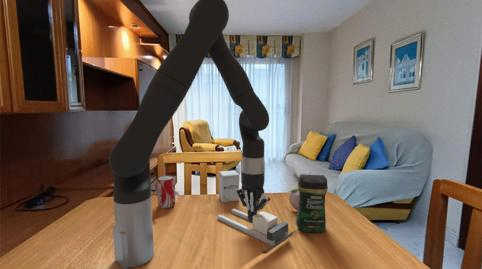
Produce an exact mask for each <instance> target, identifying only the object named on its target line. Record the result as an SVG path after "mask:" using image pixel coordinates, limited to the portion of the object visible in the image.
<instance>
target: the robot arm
mask: <svg viewBox="0 0 482 269" xmlns="http://www.w3.org/2000/svg"><path fill="white" fill-rule="evenodd" d="M229 15H230V14H229V8H228V5H227V3H226V1H225V0H197V1H196V2H195V4H193V6H192V7H191V10H190V11H189V14H188V21H189V22H188V25H187V27H186V28H185V30H184V33H183V35H182V36H181V38H180V39H179V41H178V42H177V43H176V44H175V46H174V47H173V48H172V49H171V50H170V51H169V53H168V54H167V55H166V57H165V58H164V60H163V61H162V63H161V64H160V65H159V66H158V68H157V70H156V72H155V74H154V75H153V76H152V79H151V80H150V82H149V84H148V86H147V88H146V90H145V93H144V94H143V96H142V99H141V101H140V104H139V106H138V108H137V111H136V114H135V115H134V118H133V120H132V121H131V123H130V124H129V126H128V127H127V128H126V131H125V132H124V133H123V134H122V136H121V137H120V139H119V140H118V141H117V142H116V143H115V144H114V146H112V148H111V149H110V152H109V156H108V162H109V166H110V168H111V170H112V172H113V189H112V191H113V192H112V194H113V195H112V196H113V209H114V222H115V223H114V224H115V226H113V227H112V234H113V235H112V236H113V249H114V260H115V261H116V263H117V264H118V265H119V266H120V267H121V268H122V269H129V268H136V267H139V266H143V265H145V264H147V263H148V262H149V261H151V260H152V259H153V258H154V255H155V249H154V248H155V245H154V229H153V228H154V227H153V226H154V224H153V208H152V205H153V204H152V188H151V187H152V182H151V165H150V164H151V162H150V161H151V160H150V158H151V156H152V153H153V151H154V149H155V146H156V144H157V142H158V141H159V137H160V136H161V134H162V132H163V131H164V130H165V128H166V126H168V124H169V122H170V121H171V120H172V118H173V116H174V115H175V113H176V112H177V111H178V109H179V108H180V106H181V104H182V103H183V102H184V99H185V97H186V95H187V94H188V92H189V91H190V88H191V87H192V85H193V82H194V80H195V79H196V77H197V74H198V72H199V70H200V68H201V66H202V64H203V62H204V60H205V58H206V56H207V54H208V55H209V56H210V58H211V60H212V62H213V63H214V65H215V68H216V69H217V71H218V73H219V75H220V77H221V78H222V81H223V84H224V85H225V86H226V89H227V91H228V94H229V96H230V98H231V100H232V101H233V103H234V104H235V105H236V106H238V107H240V109H241V112H240V113H239V117H238V127H239V133H240V137H241V142H242V145H241V146H242V147H241V149H242V154H241V155H242V156H241V157H242V158H241V164H240V165H241V168H240V169H241V170H240V171H241V174H240V175H241V176H240V177H241V178H240V179H241V180H240V182H241V184H242V185H241V188H239V190H237V194H238V196H239V201H240V202H241V205H242V207H244V208H246V210H247V214H248V220H247V221H249V222H251V223H253V216H254V215H256V214H258V212H259V211H261V210H262V209H264V208H265V206H266V205H267V204H268V203H269V202H270V201H271V197H267V196H266V194H265V189H264V185H265V181H266V180H265V178H266V177H265V176H266V174H265V172H266V170H265V169H266V168H265V167H266V165H265V164H266V162H265V161H266V160H265V140H264V139H263V138H262V137H261V136H260V134H259V133H260V132H261V131H262V132H263V131H264V130H266V129H267V128H268V127H269V123H270V116H269V112H268V109H267V108H266V107H265V105H264V104H263V102H262V100H261V98H259V96H258V95H257V94H256V92H255V90H254V88H253V85H252V82H251V81H250V78H249V77H248V74H247V72H246V71H245V69H244V67H243V66H242V65H241V63H240V61H238V59H237V58H236V56H234V54H233V53H232V51H231V49H230V47H229V46H228V44H227V41H226V39H225V37H224V33H223V32H224V30H225V29H226V27H227V25H228V22H229V17H230V16H229Z"/></svg>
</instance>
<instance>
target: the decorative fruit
mask: <svg viewBox="0 0 482 269" xmlns="http://www.w3.org/2000/svg"><path fill="white" fill-rule="evenodd" d="M288 193H289V195H288V201H289V204H290V206H291V207H292V208H293V209H295V210H296V211H298V205H299V195H300V193H299V189H298V188H292V189H290V190H289V191H288Z"/></svg>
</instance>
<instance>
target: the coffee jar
mask: <svg viewBox="0 0 482 269" xmlns="http://www.w3.org/2000/svg"><path fill="white" fill-rule="evenodd" d="M297 181H298V182H297V189H299V193H300V195H299V205H298V210H297V213H296V219H295V221H296V222H295V224H296V226H297V228H298V230H299V231H301V232H303V233H304V232H305V233H323V232H325V231H326V227H327V224H326V221H327V220H326V204H325V203H326V195H327V192H328V190H329V188H328V179H327V177H326V176H325V175H324V174H305V173H304V174H302V173H301V174H299V176H298V180H297Z"/></svg>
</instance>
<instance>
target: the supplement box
mask: <svg viewBox="0 0 482 269" xmlns="http://www.w3.org/2000/svg"><path fill="white" fill-rule="evenodd" d="M218 188H219V189H218V196H219V199H220V200H221V203H230V202H238V201H240V198H239V196H238V194H237V190H239V189H240V174H239V173H238V172H237V171H236V170H221V171H218Z"/></svg>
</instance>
